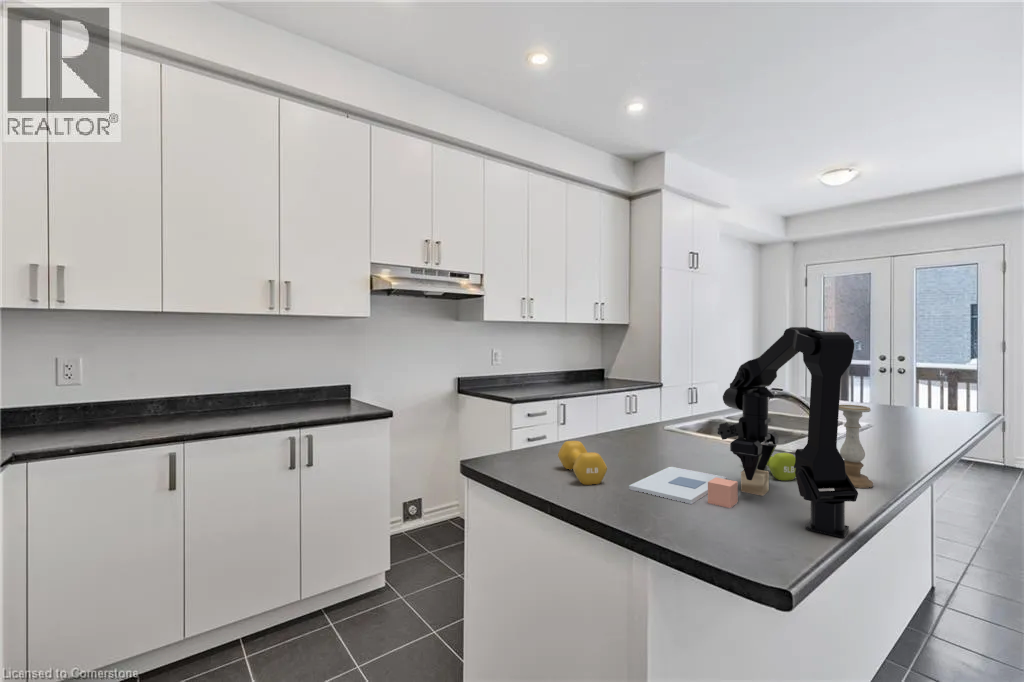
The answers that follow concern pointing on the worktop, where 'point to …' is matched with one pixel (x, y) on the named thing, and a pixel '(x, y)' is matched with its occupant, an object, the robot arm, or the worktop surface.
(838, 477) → the robot arm
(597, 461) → the dumbbell
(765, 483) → the maple block
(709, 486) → the coral block
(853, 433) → the candle holder
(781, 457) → the dumbbell
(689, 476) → the blueprint board
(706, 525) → the worktop surface
